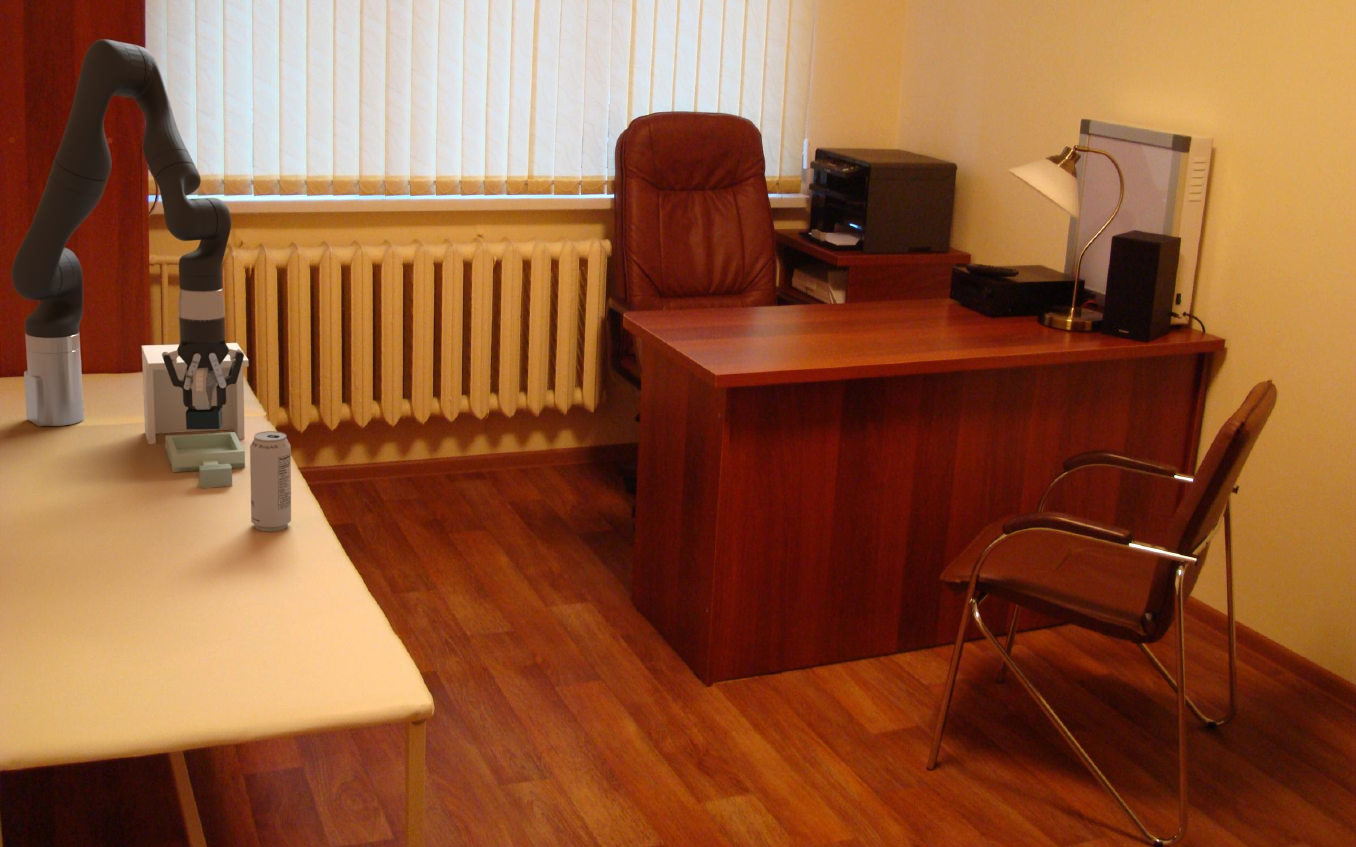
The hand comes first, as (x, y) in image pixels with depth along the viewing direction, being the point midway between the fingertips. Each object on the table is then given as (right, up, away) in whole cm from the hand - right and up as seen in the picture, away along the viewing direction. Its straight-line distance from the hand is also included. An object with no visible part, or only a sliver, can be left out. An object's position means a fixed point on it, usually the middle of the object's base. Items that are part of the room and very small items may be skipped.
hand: (205, 407), depth 227 cm
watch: (0, -3, +1) cm, 4 cm away
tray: (+1, -11, -1) cm, 11 cm away
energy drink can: (+20, -19, -25) cm, 37 cm away
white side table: (-6, -6, +13) cm, 16 cm away
